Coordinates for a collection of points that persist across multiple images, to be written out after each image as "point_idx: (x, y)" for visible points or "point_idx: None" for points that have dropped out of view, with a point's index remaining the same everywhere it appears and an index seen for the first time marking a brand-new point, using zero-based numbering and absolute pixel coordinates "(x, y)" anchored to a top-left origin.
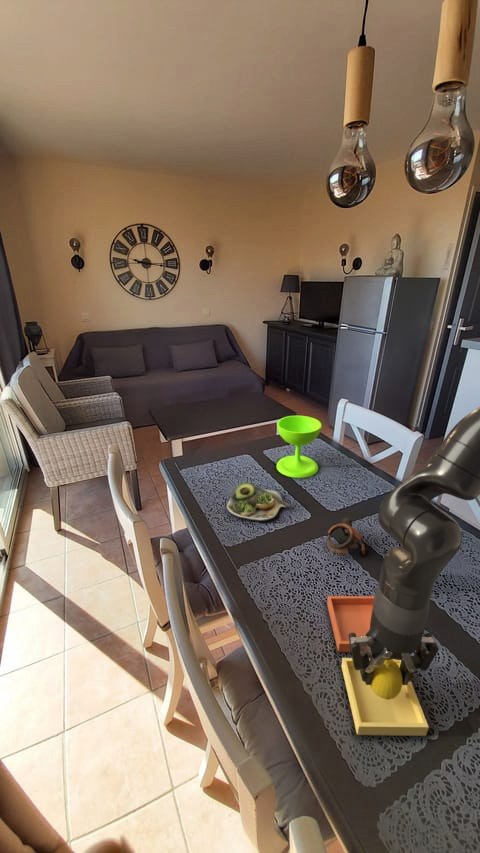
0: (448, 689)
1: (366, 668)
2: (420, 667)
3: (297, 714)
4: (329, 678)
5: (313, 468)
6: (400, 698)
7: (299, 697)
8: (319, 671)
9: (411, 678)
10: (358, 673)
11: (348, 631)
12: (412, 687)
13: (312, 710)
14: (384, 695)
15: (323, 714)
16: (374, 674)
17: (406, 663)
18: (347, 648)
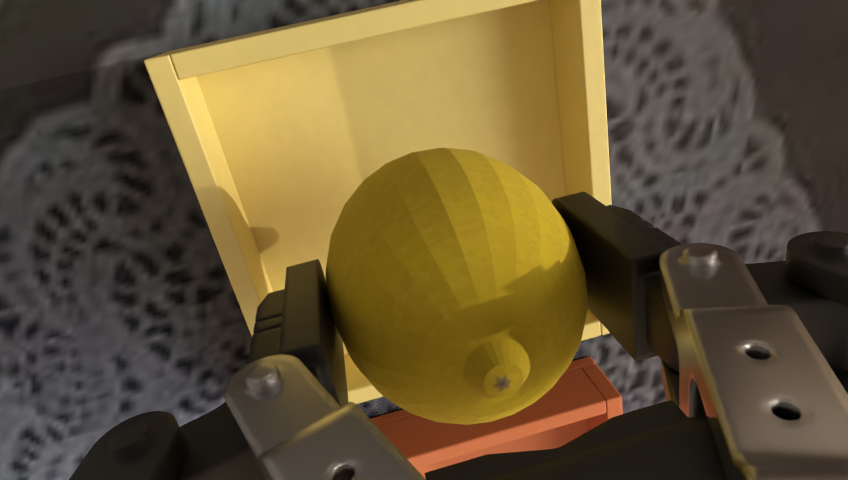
0: (26, 336)
1: (743, 267)
2: (174, 440)
3: (839, 5)
4: (651, 222)
5: None
6: (303, 215)
7: (812, 92)
8: (693, 241)
9: (257, 317)
10: None
11: None
12: (236, 281)
13: (763, 43)
14: (463, 151)
15: (713, 36)
16: (576, 259)
17: (378, 454)
18: (558, 384)
